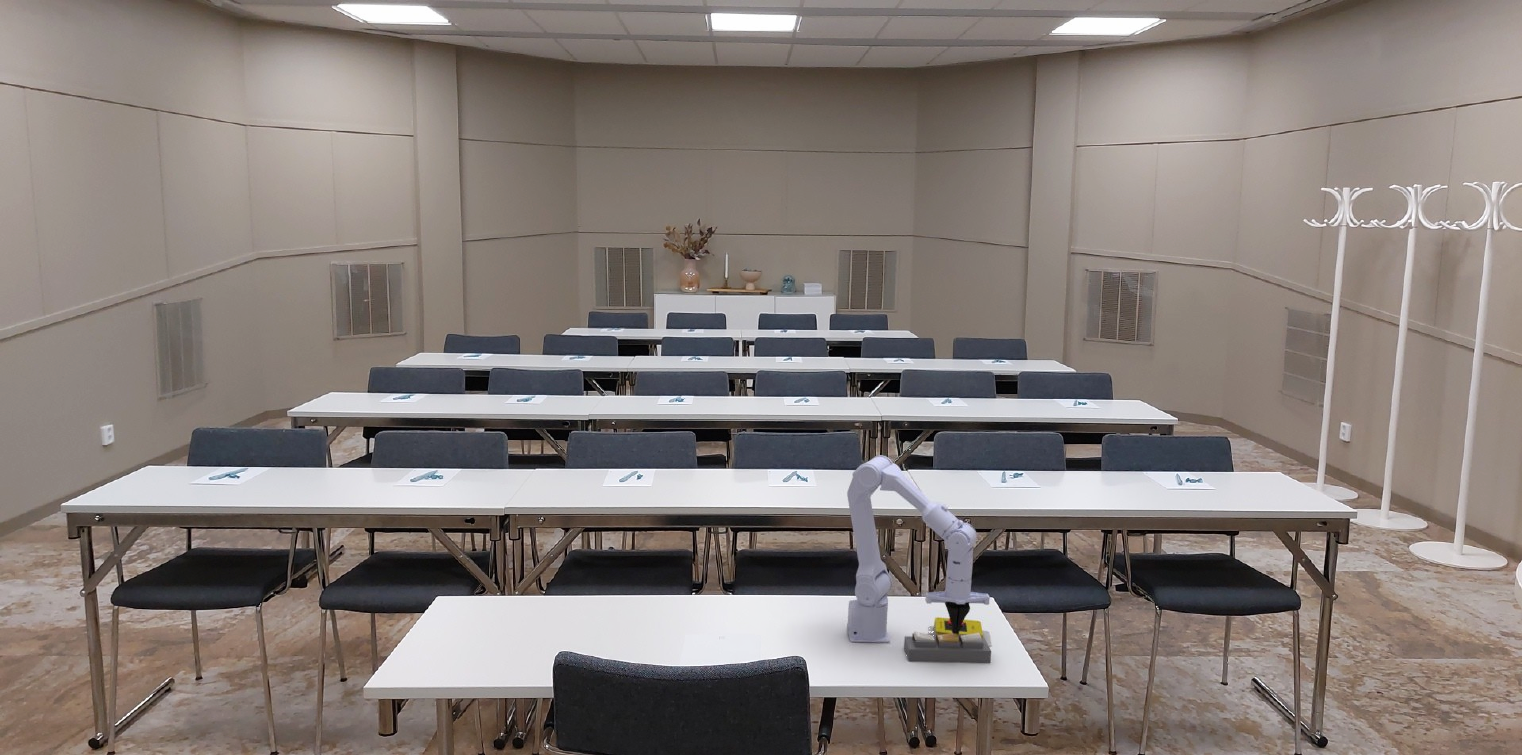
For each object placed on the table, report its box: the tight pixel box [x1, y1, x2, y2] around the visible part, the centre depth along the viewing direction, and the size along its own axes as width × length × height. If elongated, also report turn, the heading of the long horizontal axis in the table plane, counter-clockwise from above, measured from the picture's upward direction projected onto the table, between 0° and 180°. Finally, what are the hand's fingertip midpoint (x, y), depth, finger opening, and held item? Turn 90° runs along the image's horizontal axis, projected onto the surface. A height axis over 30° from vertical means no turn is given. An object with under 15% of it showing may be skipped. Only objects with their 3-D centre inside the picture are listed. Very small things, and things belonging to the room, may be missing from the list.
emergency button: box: [927, 617, 992, 648], centre depth 260 cm, size 9×4×15 cm
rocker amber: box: [937, 633, 958, 642], centre depth 249 cm, size 4×3×1 cm, turn 91°
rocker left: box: [913, 630, 935, 641], centre depth 249 cm, size 4×3×1 cm, turn 92°
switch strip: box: [903, 632, 992, 664], centre depth 249 cm, size 19×7×4 cm, turn 91°
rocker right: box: [960, 633, 982, 642], centre depth 249 cm, size 4×3×1 cm, turn 91°
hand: (955, 632), depth 249 cm, fingers closed
